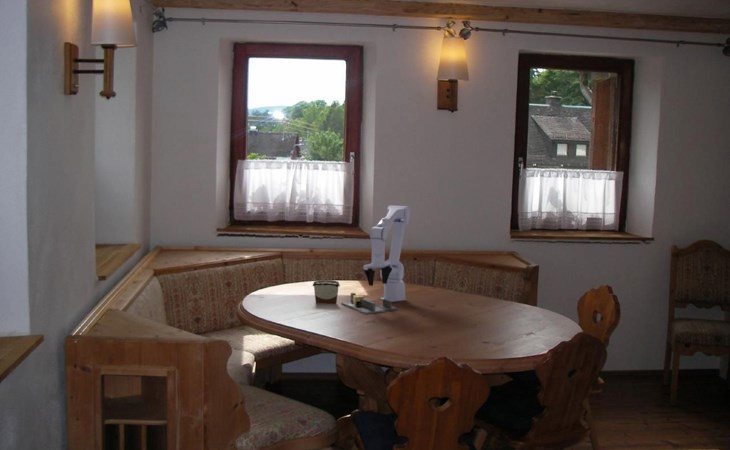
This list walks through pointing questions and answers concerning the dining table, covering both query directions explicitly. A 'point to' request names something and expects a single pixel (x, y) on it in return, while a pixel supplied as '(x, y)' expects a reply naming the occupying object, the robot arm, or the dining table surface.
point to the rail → (363, 306)
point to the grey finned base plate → (387, 305)
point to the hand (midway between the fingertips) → (377, 284)
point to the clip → (357, 298)
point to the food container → (326, 291)
